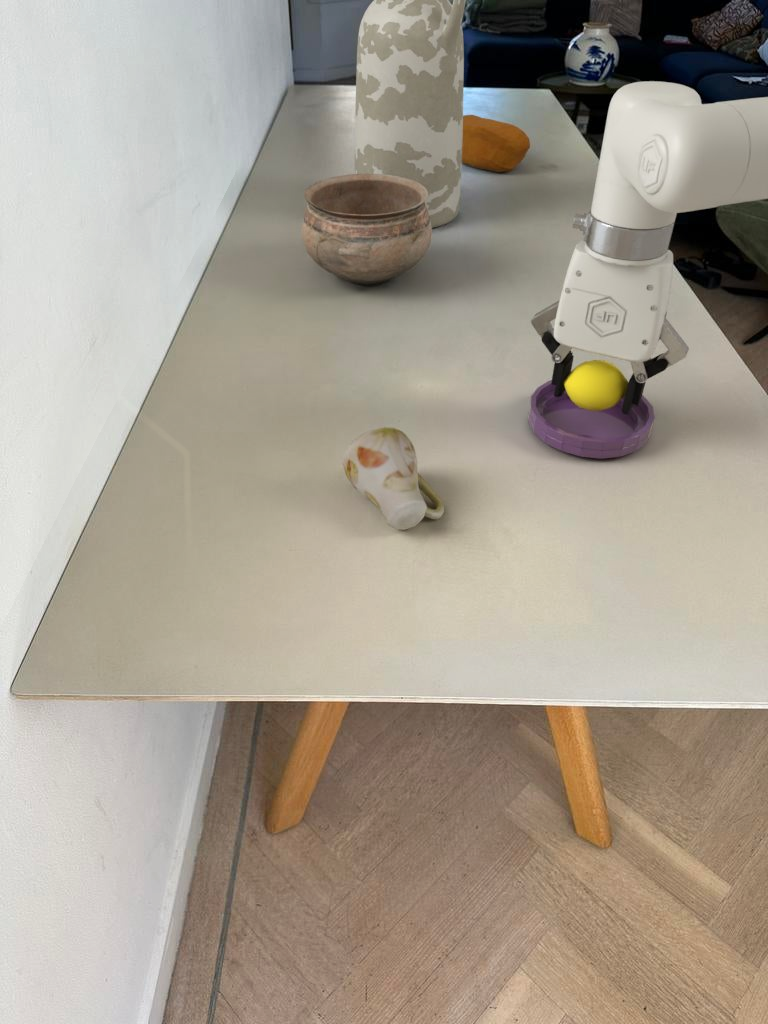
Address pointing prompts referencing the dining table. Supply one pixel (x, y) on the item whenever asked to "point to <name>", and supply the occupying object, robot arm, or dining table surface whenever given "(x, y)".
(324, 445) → the dining table surface
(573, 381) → the lemon
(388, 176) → the cooking pot
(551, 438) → the dish
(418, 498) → the mug
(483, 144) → the bread
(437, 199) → the vase
